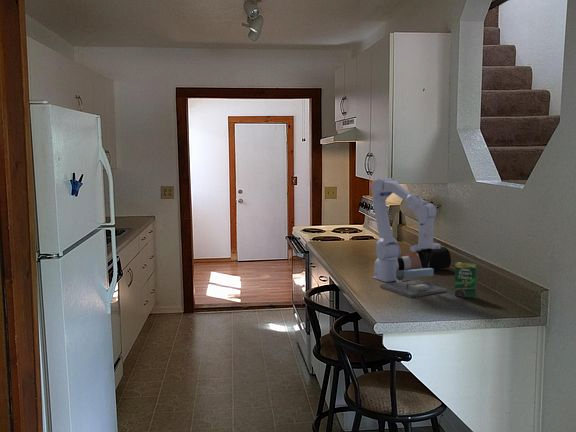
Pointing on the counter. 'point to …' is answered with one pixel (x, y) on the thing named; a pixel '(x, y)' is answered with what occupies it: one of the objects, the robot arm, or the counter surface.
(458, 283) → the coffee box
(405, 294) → the chassis
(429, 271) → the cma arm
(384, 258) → the robot arm
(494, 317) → the counter surface
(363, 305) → the counter surface
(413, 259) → the black banded cylinder
